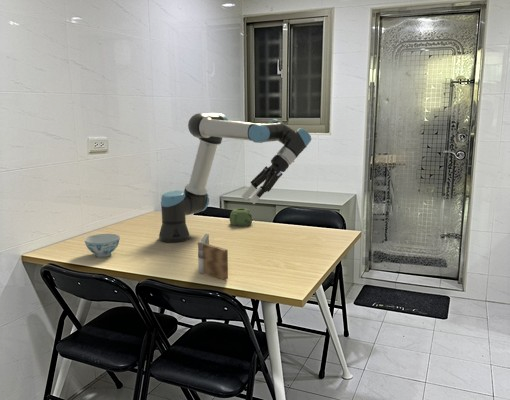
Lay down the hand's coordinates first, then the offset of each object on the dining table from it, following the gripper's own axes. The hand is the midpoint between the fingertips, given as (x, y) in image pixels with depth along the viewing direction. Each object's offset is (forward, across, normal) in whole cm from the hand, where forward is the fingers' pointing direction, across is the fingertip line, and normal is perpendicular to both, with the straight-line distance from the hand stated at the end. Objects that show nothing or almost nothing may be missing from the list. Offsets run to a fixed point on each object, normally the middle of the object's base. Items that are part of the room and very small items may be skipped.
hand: (247, 200), depth 195 cm
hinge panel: (+32, 0, -5) cm, 33 cm away
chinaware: (+59, +34, +21) cm, 71 cm away
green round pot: (+5, +62, -33) cm, 70 cm away
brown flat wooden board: (+32, -11, -5) cm, 34 cm away
